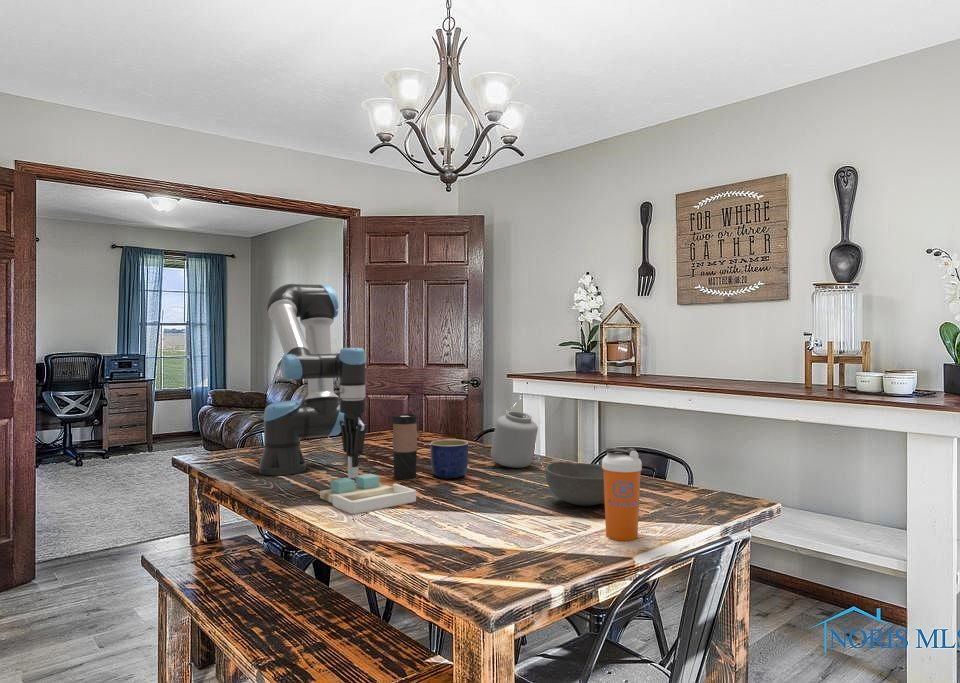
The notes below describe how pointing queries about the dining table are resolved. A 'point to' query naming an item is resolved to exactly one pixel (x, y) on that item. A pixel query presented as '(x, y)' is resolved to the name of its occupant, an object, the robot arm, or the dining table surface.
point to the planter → (449, 458)
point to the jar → (514, 440)
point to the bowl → (576, 482)
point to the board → (357, 493)
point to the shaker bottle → (621, 493)
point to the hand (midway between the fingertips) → (353, 477)
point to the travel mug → (405, 446)
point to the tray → (376, 500)
